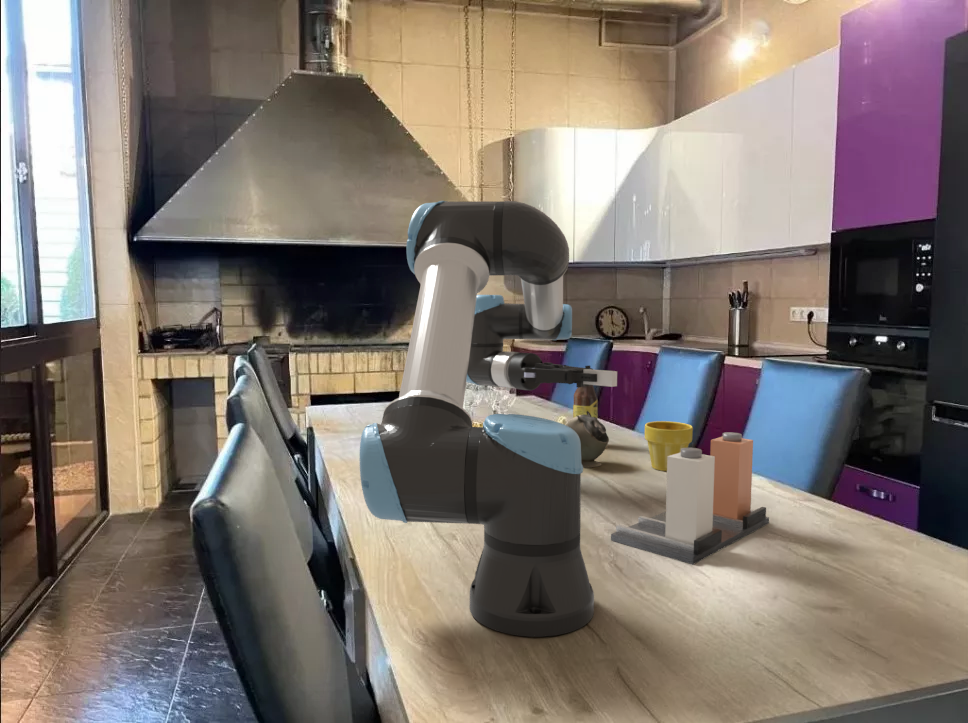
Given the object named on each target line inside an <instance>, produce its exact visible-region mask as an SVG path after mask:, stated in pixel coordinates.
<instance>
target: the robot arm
mask: <svg viewBox="0 0 968 723" xmlns="http://www.w3.org/2000/svg"><path fill="white" fill-rule="evenodd" d="M408 225H409V226H408V227H407V228H408V229H407V240H406V247H405V248H406V259H407V264H408V267H409V270H410V271H411V273H413V275H415V278H416V279H417V281H418V282H419V284H420V288H419V292H418V297H417V302H416V308H415V311H414V312H415V313H414V318H413V324H412V328H411V333H410V338H409V339H410V340H409V343H408V349H407V354H406V359H405V365H404V368H403V374H402V380H401V385H400V389H399V394H398V395H399V396H398V397H397V398H395V399H394V400H392V401H391V402H390V403H387V405H386V407H385V408H384V410H383V414H382V419H381V424H380V423H377V422H372V423H371V424H368V425H366V426H365V427H364V428H363V430H362V432H361V437H360V441H359V476H360V484H361V485H360V486H361V492H362V494H363V499H364V502H365V504H366V507H367V509H368V511H369V512H370V514H372V516H374V517H375V518H377V519H380V520H385V521H386V520H387V521H388V520H389V521H397V522H398V521H401V522H402V523H404V524H408V522H410V523H411V522H412V523H414V522H415V523H438V524H439V523H441V524H443V523H444V524H466V525H467V524H469V525H470V524H471V525H473V524H474V525H477V524H478V525H483V548H482V551H481V555H480V558H479V560H478V563H477V566H476V570H475V574H474V579H473V580H472V581H471V584H470V588H469V611H470V614H471V615H472V617H473V618H474V619H475V620H476V621H478V623H480V624H481V625H483V626H485V627H486V628H489V629H491V630H493V631H496V632H500V633H504V634H507V635H513V636H517V637H518V636H520V637H528V638H529V637H530V638H531V637H532V638H534V637H535V638H536V637H537V638H538V637H539V638H540V637H555V636H559V635H564V634H567V633H572V632H575V631H577V630H579V629H581V628H583V627H584V626H586V625H587V624H588V623H589V622H591V620H592V618H594V613H595V592H594V589H593V587H592V584H591V583H590V579H589V575H588V572H587V568H586V563H585V559H584V557H583V554H582V549H581V512H582V511H581V502H582V501H581V497H582V496H581V495H582V494H581V493H582V492H581V488H582V487H581V485H582V484H581V480H582V478H581V475H582V474H583V470H584V467H583V466H582V464H581V443H580V438H579V436H578V435H577V433H576V432H575V431H574V430H573V429H571V428H570V427H568V426H566V424H564V423H561V422H558V421H555V420H552V419H548V418H544V417H543V418H542V417H538V416H534V415H533V416H532V415H525V414H517V413H516V414H515V413H508V414H506V413H495V414H489V415H487V416H486V417H485V419H484V421H483V423H482V426H473V420H472V416H470V414H469V412H468V411H467V410H466V409H465V408H464V404H465V402H464V401H465V395H466V388H467V387H466V386H467V384H468V383H469V384H473V385H477V386H485V387H486V386H487V387H496V388H497V387H498V388H505V390H506V391H507V392H509V391H511V389H516V390H523V391H533V390H535V389H537V388H538V387H539V386H540V385H541V384H567V385H572V384H576V388H578V387H582V382H583V384H589V385H593V386H601V387H611V388H612V387H618V370H617V371H615V370H603V369H594V368H592V369H591V365H585V366H584V367H579V366H569V365H568V364H567V365H566V364H555V363H553V362H543V360H542V358H541V357H540V356H539V355H537V354H536V353H532V352H520V351H519V352H518V351H505V350H504V340H543V341H545V340H546V341H547V340H548V341H549V340H550V341H557V340H569V339H570V338H571V337H572V335H573V332H572V330H573V307H572V305H571V304H565V303H564V274H565V273H566V272H567V270H568V267H569V264H570V248H569V244H568V240H567V238H566V236H565V234H564V233H563V231H562V230H561V228H560V227H559V226H558V224H557V223H556V222H555V221H554V220H553V219H552V218H551V217H549V216H548V215H547V214H546V213H544V212H543V211H541V210H540V209H538V208H536V207H535V206H533V205H530V204H527V203H525V202H520V201H516V200H504V201H500V200H499V201H498V200H497V201H493V200H492V201H488V200H487V201H486V200H485V201H484V200H481V201H448V200H447V201H446V200H438V201H437V202H425V203H423V204H421V205H419V206H418V207H417V208H416V209H415V211H414V212H413V214H412V216H411V219H410V221H409V224H408ZM490 276H518V278H520V282H521V289H522V296H523V302H524V303H507V302H506V303H505V300H504V297H503V295H501V294H479V293H480V292H482V291H484V289H485V288H486V286H487V285H488V282H489V278H490Z"/></svg>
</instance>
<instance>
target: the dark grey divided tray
mask: <svg viewBox="0 0 968 723" xmlns="http://www.w3.org/2000/svg"><path fill="white" fill-rule="evenodd" d="M637 521H638V522H637V523H634V524H632V525H629V526H626V525H622V524H617V525H615V532H612V533H610V541H611V542H616V543H619V544H622V545H624V546H625V545H626V546H629V547H632V548H636V549H639V550H643V551H646V552H649V553H653V554H656V555H659V556H663V557H665V558H670V559H674V560H677V561H680V562H684V563H686V564H690V565H695V564H697V563H699V562H700V561H702V560H704V559H705V558H708V557H709V556H711V555H713V554H715V553H717V552H718V551H720V550H723V549H724V548H726V547H727V546H728V547H729V545H732V544H734V543H735V542H737V541H739V540H742V538H744V537H746V536H748V535H750V534H752V533H754V532H756V531H757V530H758V529H761V528H763V527H765V526H767V525H768V524H770V517H769V516H767V507H765V506H761V507H759V508H757V509H755V510H752V509H751V511H750V513H748V514H746V515H744V516H743V520H738V519H734V518H730V517H726V516H721V515H717V514H713V525H712V532H710V533H708V534H706V535H704V536H702V537H700V538H698V539H696V540H694V545H692V544H688V543H685V542H681V541H677V540H674V539H670V538H666V537H665V529H666V511H663V512H662V513H658V514H656V515H654V516H651V517H647V516H643V515H640V516H638V520H637Z"/></svg>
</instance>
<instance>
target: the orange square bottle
mask: <svg viewBox="0 0 968 723" xmlns="http://www.w3.org/2000/svg"><path fill="white" fill-rule="evenodd" d="M709 450H710V451H709V453H710V455H709V456H715V464H714V495H713V514H717V515H721V516H726V517H730V518H734V519H738V520H743V516H744V515H746V514H748V513H750V511H751V510H752V509H751V508H752V507H751V505H752V484H753V483H752V481H753V454H754V452H753V451H754V440H753V439H748V438H743V435H742V433H739V432H727V431H726V432H722V435H721V436H719V437H717V438H713V439H711V440H710V449H709Z"/></svg>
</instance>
